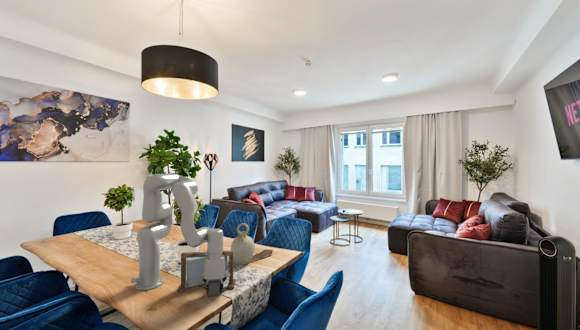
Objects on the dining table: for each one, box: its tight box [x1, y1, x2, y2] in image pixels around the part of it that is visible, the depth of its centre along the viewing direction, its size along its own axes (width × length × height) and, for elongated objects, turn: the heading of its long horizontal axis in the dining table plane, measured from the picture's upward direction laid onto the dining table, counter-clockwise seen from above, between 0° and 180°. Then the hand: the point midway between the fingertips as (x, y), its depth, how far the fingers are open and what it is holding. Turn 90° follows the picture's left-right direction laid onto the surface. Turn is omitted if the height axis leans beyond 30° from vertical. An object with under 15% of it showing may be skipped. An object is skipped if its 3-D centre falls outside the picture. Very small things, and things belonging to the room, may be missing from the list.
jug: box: [230, 222, 255, 265], centre depth 153 cm, size 15×16×25 cm
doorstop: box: [208, 279, 221, 297], centre depth 119 cm, size 5×15×6 cm, turn 9°
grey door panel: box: [186, 256, 228, 289], centre depth 124 cm, size 21×1×14 cm, turn 123°
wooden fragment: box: [250, 249, 274, 264], centre depth 162 cm, size 26×11×1 cm, turn 149°
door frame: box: [176, 250, 237, 293], centre depth 120 cm, size 28×8×18 cm, turn 98°
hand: (215, 290), depth 114 cm, fingers closed on doorstop, 5 cm apart
